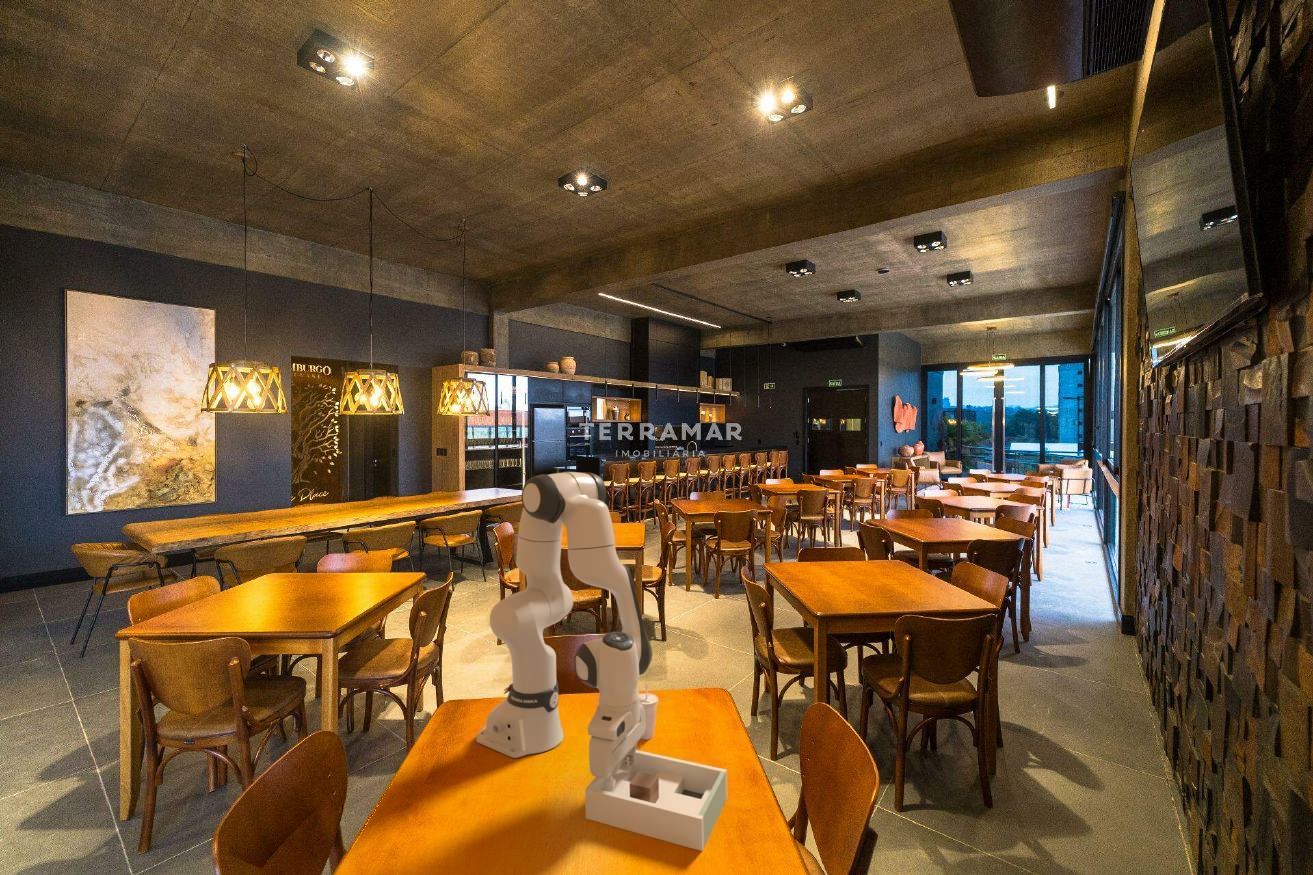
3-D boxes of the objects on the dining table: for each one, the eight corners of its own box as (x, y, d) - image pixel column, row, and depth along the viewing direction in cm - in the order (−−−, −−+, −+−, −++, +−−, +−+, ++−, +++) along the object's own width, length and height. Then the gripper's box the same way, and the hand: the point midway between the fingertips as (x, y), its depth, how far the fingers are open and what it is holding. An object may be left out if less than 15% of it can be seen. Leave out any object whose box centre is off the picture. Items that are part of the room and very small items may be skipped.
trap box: (585, 818, 116) (585, 788, 116) (622, 772, 132) (622, 746, 132) (702, 851, 107) (701, 819, 107) (727, 797, 122) (726, 769, 122)
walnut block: (629, 805, 115) (629, 783, 115) (639, 792, 120) (638, 771, 120) (650, 811, 114) (649, 788, 114) (658, 797, 118) (658, 775, 118)
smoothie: (639, 744, 144) (638, 689, 144) (630, 732, 150) (629, 679, 150) (662, 738, 147) (661, 684, 147) (652, 727, 152) (652, 674, 152)
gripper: (627, 688, 134) (628, 747, 134) (583, 730, 115) (584, 799, 115) (651, 693, 132) (652, 752, 132) (610, 736, 113) (612, 806, 113)
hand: (620, 774), depth 123 cm, fingers open, 8 cm apart
